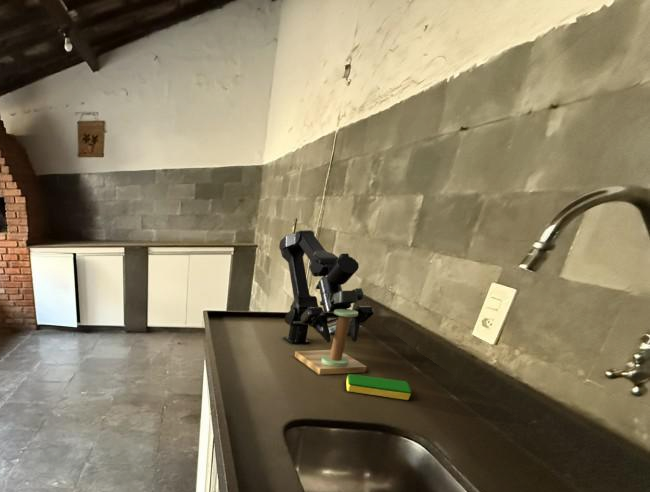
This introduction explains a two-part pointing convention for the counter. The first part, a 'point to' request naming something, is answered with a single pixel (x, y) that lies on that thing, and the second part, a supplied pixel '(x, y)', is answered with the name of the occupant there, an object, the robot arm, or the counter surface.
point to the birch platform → (315, 363)
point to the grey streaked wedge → (332, 324)
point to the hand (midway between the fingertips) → (342, 341)
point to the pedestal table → (344, 360)
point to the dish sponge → (378, 386)
